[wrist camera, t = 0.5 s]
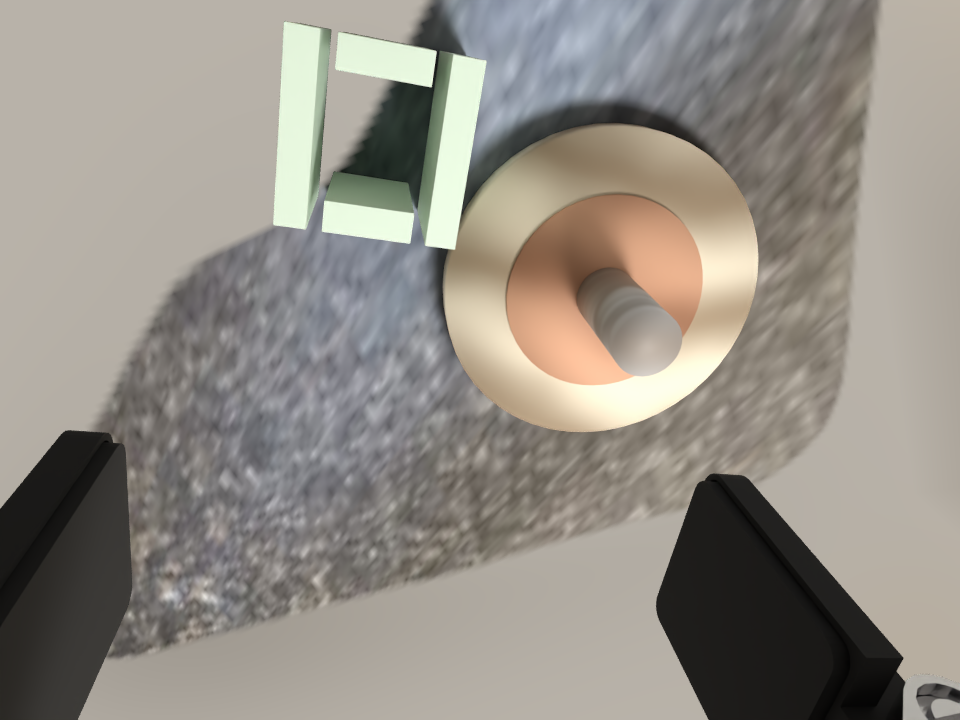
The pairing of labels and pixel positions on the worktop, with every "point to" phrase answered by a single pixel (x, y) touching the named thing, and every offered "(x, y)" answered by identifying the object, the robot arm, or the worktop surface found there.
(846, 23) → the worktop surface
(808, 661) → the robot arm
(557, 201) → the post base
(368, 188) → the collar
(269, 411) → the worktop surface
